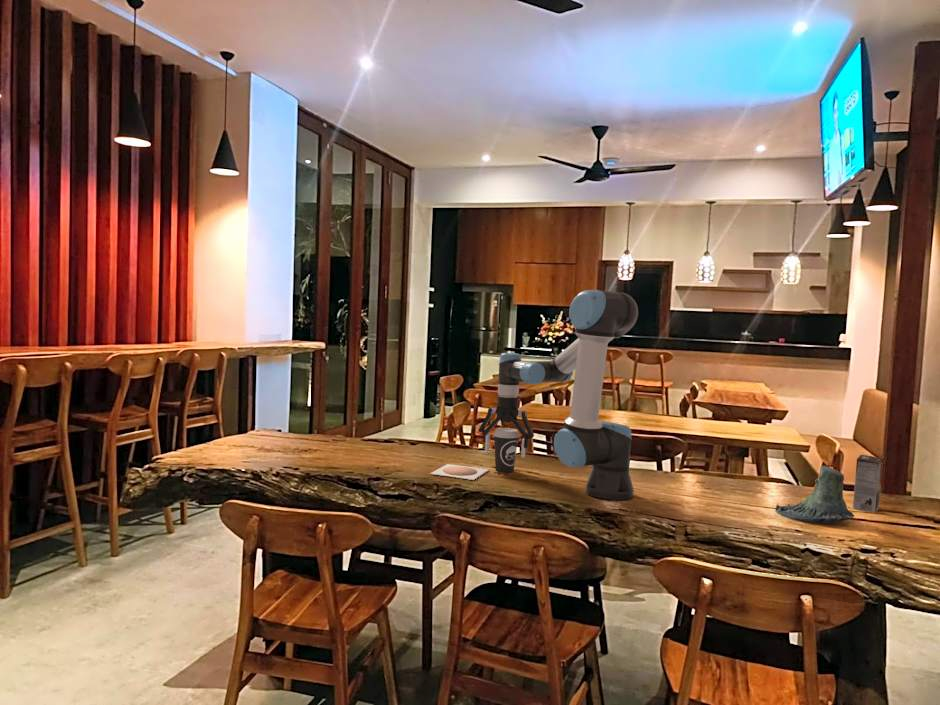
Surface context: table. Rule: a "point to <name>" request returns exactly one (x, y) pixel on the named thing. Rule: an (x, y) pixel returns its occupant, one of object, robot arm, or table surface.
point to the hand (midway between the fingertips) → (504, 454)
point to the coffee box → (868, 483)
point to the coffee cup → (505, 449)
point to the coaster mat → (460, 471)
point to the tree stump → (821, 501)
